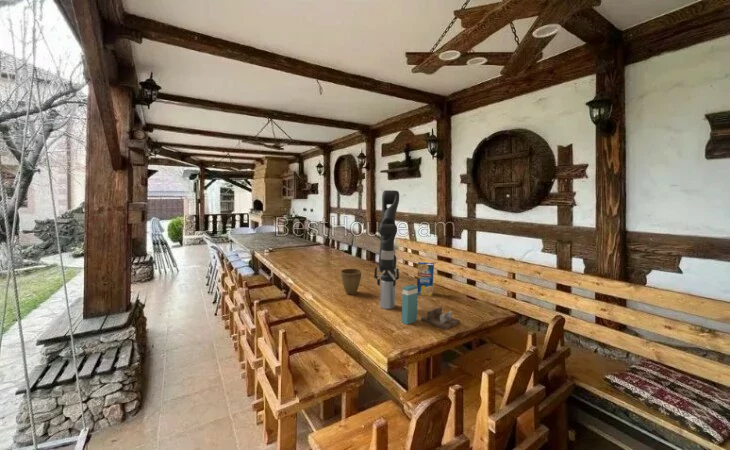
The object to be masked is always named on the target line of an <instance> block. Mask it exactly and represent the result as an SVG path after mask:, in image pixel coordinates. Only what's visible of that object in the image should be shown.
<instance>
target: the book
mask: <svg viewBox="0 0 730 450" xmlns="http://www.w3.org/2000/svg"><path fill="white" fill-rule="evenodd" d="M401 293H402V295H401V297H402V300H401V302H402V303H401V307H402V308H401V323H402V324H405V325H406V326H407V325H410V324H413V323H415V322H417V321H418V319H417V318H418V296H419V295H418V286H417V284H416V285H415V284H408V285H406V286H405V285H404V286H402V292H401Z"/></svg>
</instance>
